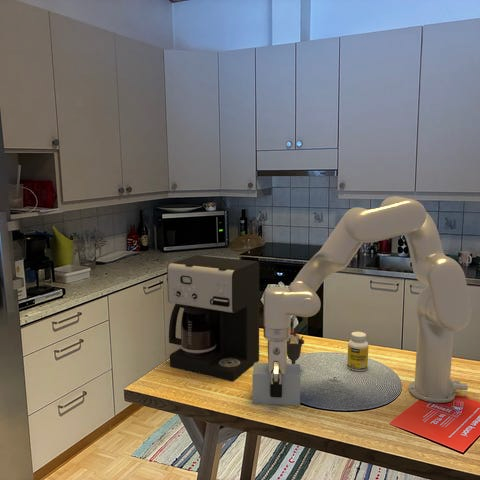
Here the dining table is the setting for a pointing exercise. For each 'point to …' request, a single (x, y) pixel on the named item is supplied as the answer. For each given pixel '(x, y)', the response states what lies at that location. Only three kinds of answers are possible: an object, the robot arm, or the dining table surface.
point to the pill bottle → (357, 352)
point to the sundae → (294, 346)
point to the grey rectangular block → (288, 382)
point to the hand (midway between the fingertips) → (276, 388)
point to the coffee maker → (215, 315)
